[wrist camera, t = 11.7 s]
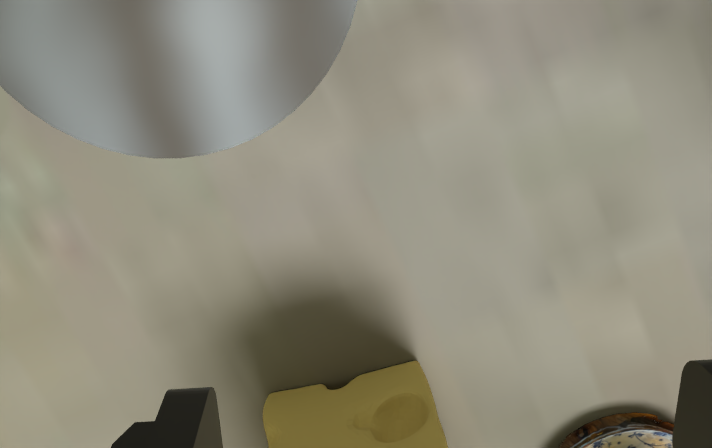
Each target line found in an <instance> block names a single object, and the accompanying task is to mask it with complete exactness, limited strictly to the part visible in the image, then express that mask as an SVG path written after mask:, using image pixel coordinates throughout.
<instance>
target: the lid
mask: <svg viewBox="0 0 712 448" xmlns="http://www.w3.org/2000/svg"><path fill="white" fill-rule="evenodd" d="M356 3H357V0H0V86H1V87H2V88H3V89H4V90H5V91H6V92H7V93H8V94H9V95H11V96H12V97H13V98H14V99H15V100H16V101H18V102H19V103H20V104H21V105H22V106H24V107H25V108H26V109H27V110H28V111H30V112H31V113H33V114H34V115H36V116H37V117H39V118H40V119H42V120H43V121H45V122H46V123H48V124H49V125H51V126H52V127H54V128H56V129H58V130H60V131H62V132H64V133H66V134H68V135H70V136H72V137H74V138H76V139H78V140H81V141H83V142H86V143H89V144H91V145H94V146H97V147H99V148H102V149H106V150H110V151H114V152H118V153H122V154H126V155H132V156H140V157H149V158H185V157H193V156H200V155H206V154H210V153H214V152H218V151H222V150H226V149H229V148H232V147H234V146H237V145H239V144H241V143H244V142H246V141H249V140H251V139H253V138H255V137H257V136H259V135H260V134H262V133H264V132H265V131H267V130H269V129H271V128H272V127H274V126H275V125H277V124H278V123H279V122H281V121H282V120H283V119H285V118H286V117H287V116H288V115H290V114H291V113H292V112H294V111H295V110H296V109H297V108H298V107H299V106H300V105H301V104H302V103H303V102H304V101H305V100H306V99H307V98H308V97H309V96H310V95H311V94H312V92H313V91H314V90H315V88H316V87H317V86H318V84H319V83H320V82H321V81H322V79H323V78H324V77H325V75H326V74H327V72H328V71H329V69H330V67H331V65H332V64H333V62H334V60H335V59H336V57H337V55H338V53H339V52H340V50H341V47H342V45H343V42H344V40H345V38H346V35H347V33H348V30H349V28H350V25H351V22H352V18H353V14H354V11H355V7H356Z"/></svg>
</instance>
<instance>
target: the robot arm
mask: <svg viewBox="0 0 712 448" xmlns="http://www.w3.org/2000/svg"><path fill="white" fill-rule="evenodd" d="M672 445H673V448H712V360H695V361H689V362H687V363H686V365H685V366H684V368H683V371H682V376H681V383H680V389H679V396H678V402H677V409H676V415H675V422H674V428H673V435H672ZM111 448H223V444H222V437H221V429H220V421H219V413H218V406H217V398H216V393H215V390H214V388H213V387H206V388H189V389H171V390H168V391H167V392H166V394H165V396H164V399H163V401H162V404H161V407H160V409H159V412H158V415H157V417H156V420H155V421H151V422H135V423H134V424H133V425H132V426H131V427H130V428H129V429H128V430H127V431H125V432H124V433H123V434H122V435H121V436H120V437H119V438H118V439H117V440H116V441H115V442H114V443H113V444H112V446H111Z"/></svg>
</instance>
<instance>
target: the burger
mask: <svg viewBox="0 0 712 448" xmlns="http://www.w3.org/2000/svg"><path fill="white" fill-rule="evenodd" d="M651 415H652V414H644V413H624V414H616V415H612V416H607V417H603V418H600V419H598V420H595V421H593V422H590V423H588V424H585V425H583V426H582V427H580V428H581V429H580V428H578V430H576V431H574V432H573V433H572V434H571V433H570V434H569V435H571V436H569V435H568V436H567V437H566V439H565V441H564V442H562V443H563V444H561V445H562V446H560V445H559V447H560V448H673V445H672V435H673V428H674V425H673V424H670V423H668V422H663V423H662V422H661V421H662V420H659V419H658V418H657V416H656V415H652V416H651ZM644 416H646V417H644ZM649 416H650V417H649ZM653 416H654V417H653ZM652 417H653V418H652ZM655 417H656V418H655ZM654 420H655V421H654ZM658 420H659V421H658ZM655 422H657V423H655ZM660 422H661V423H660ZM579 429H580V430H579Z"/></svg>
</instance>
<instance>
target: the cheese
mask: <svg viewBox="0 0 712 448" xmlns="http://www.w3.org/2000/svg"><path fill="white" fill-rule="evenodd" d="M263 423H264V429H265V432H266V436H267V440H268V445H269V447H268V448H448V446H447V442H446V438H445V435H444V432H443V429H442V426H441V423H440V421H439V418H438V415H437V411H436V406H435V403H434V399H433V396H432V393H431V389H430V387H429V384H428V381H427V379H426V376H425V374H424V372H423V370H422V368H421V366H420V364H419V362H418V361H411V362H407V363H403V364H399V365H395V366H391V367H387V368H384V369H380V370H376V371H373V372H369V373H365V374H362V375H359V376H357V377H356V378H355V379H353V380H352V381H350V382H349V383H348V384H347V385H346V386H344V387H342V388H339V389H336V390H329V389H327V388H326V386H325V385H323V384H318V385H312V386H307V387H302V388H297V389H292V390H284V391H279V392H274V393H271V394H269V396H268V398H267V399H266V402H265V405H264V408H263Z"/></svg>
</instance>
